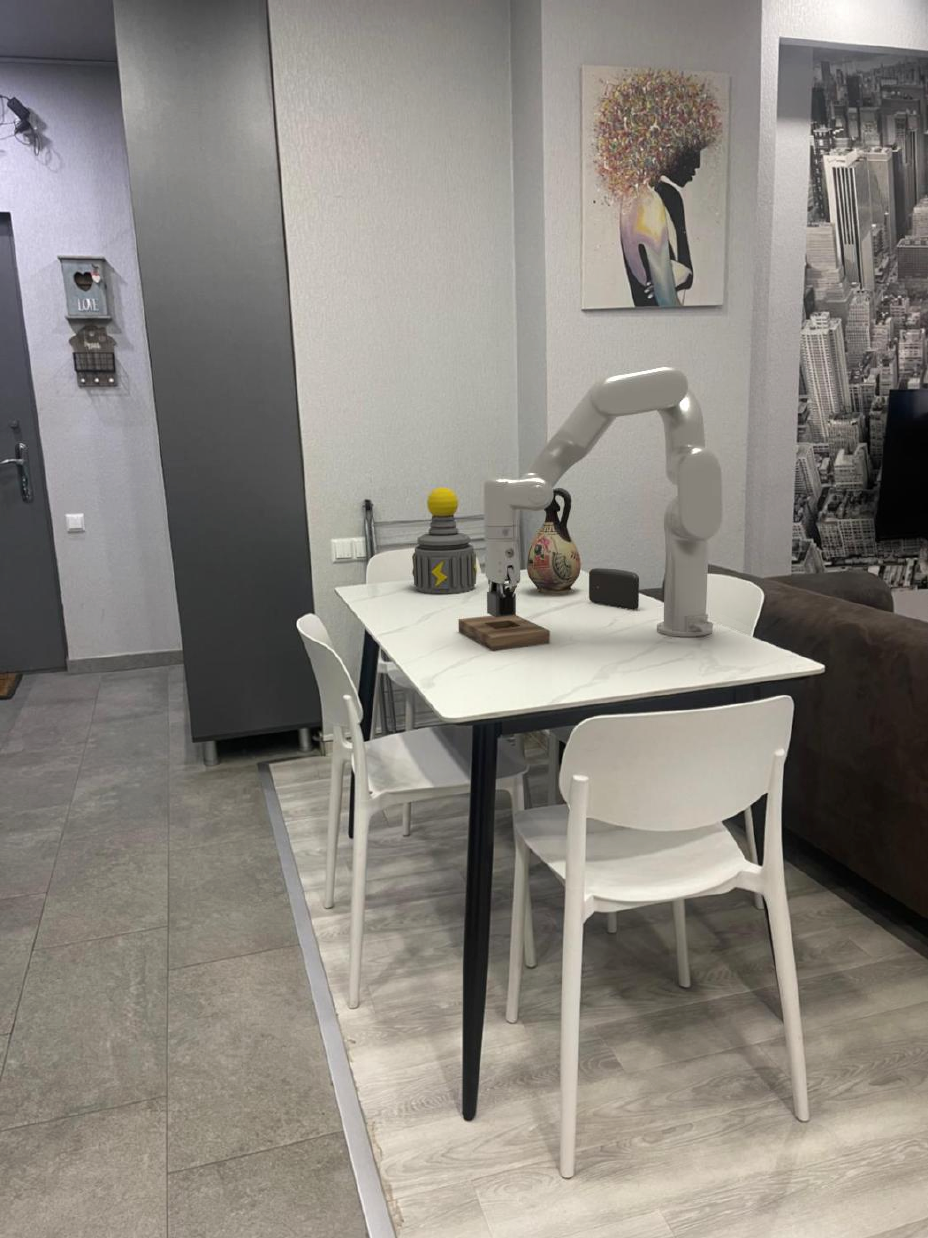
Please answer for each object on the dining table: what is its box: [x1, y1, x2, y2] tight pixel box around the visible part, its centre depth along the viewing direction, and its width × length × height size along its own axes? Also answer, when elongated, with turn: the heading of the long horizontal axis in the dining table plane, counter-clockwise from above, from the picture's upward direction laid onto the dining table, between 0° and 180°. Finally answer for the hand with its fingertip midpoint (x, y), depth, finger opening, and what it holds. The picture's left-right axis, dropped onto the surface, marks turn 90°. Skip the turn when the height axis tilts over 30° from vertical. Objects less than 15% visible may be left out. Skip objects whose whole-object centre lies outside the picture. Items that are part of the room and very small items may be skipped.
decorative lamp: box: [411, 486, 478, 595], centre depth 262 cm, size 19×19×30 cm
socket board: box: [458, 614, 551, 652], centre depth 206 cm, size 20×14×3 cm
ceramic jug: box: [526, 487, 584, 596], centre depth 252 cm, size 17×15×30 cm
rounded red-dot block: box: [588, 567, 640, 611], centre depth 236 cm, size 16×5×9 cm, turn 42°
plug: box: [486, 584, 517, 617], centre depth 204 cm, size 5×5×7 cm
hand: (501, 611), depth 205 cm, fingers closed on plug, 5 cm apart
